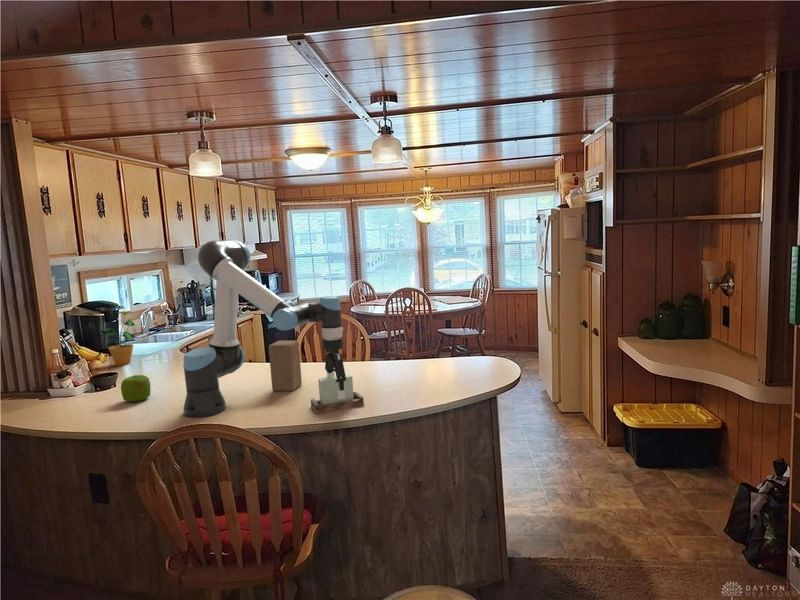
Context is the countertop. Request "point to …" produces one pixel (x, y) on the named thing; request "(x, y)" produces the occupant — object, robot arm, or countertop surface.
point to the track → (337, 404)
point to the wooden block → (285, 365)
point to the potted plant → (121, 352)
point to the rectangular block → (334, 390)
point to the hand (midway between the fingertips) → (336, 393)
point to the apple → (135, 388)
